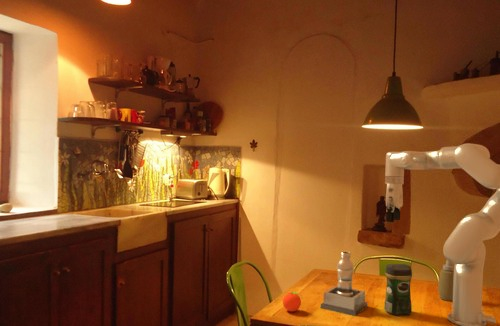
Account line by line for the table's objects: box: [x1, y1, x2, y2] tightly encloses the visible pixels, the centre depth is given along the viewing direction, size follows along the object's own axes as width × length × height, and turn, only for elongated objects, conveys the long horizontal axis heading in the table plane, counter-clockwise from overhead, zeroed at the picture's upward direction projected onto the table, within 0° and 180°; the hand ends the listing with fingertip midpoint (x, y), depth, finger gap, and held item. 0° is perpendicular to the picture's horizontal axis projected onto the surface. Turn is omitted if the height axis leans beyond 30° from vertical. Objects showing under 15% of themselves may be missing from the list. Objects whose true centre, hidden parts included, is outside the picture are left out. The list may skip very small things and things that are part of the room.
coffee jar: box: [384, 263, 413, 316], centre depth 163 cm, size 10×8×19 cm
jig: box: [320, 285, 368, 317], centre depth 167 cm, size 14×14×6 cm
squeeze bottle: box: [437, 259, 455, 302], centre depth 182 cm, size 8×8×18 cm
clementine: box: [282, 292, 303, 313], centre depth 161 cm, size 8×7×7 cm
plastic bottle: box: [336, 251, 355, 297], centre depth 167 cm, size 6×7×20 cm
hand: (393, 220), depth 180 cm, fingers open, 9 cm apart
